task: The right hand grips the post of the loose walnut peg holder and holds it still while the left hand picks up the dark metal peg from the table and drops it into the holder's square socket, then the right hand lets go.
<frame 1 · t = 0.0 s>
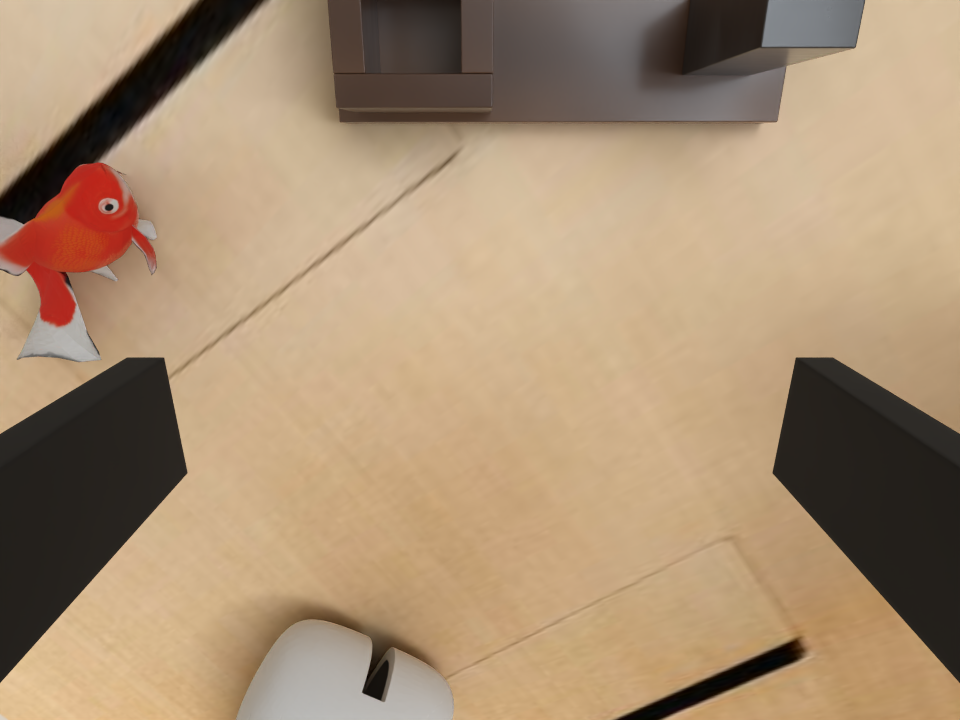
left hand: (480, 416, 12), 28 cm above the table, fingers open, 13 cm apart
fish: (106, 259, 39), on the table
projector: (336, 701, 53), on the table
holder: (557, 42, 35), on the table
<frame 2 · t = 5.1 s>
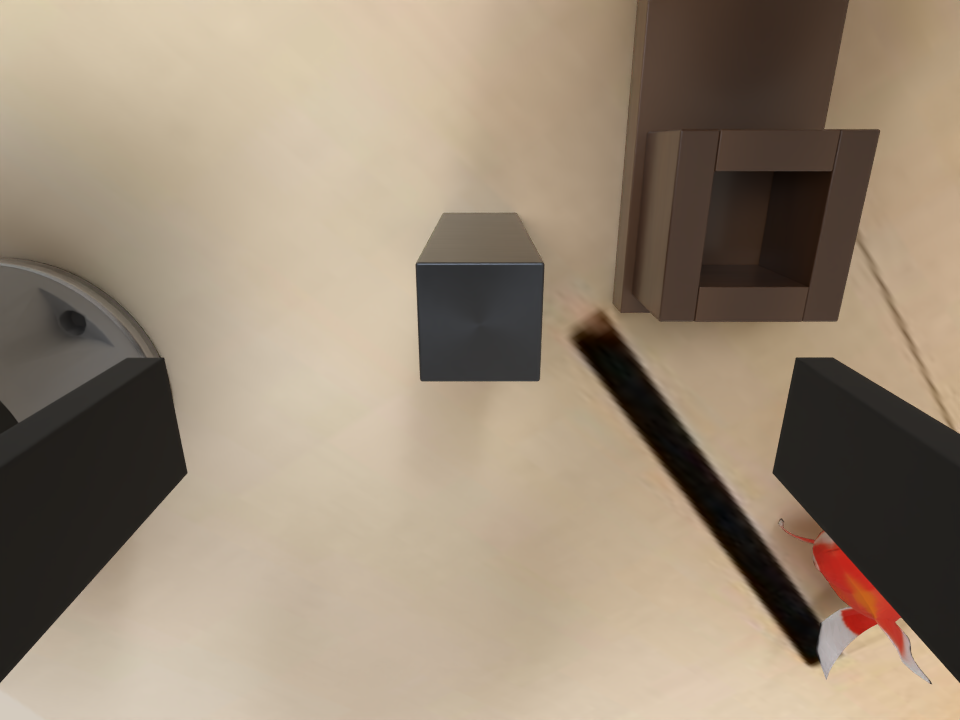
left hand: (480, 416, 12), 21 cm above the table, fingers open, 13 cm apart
peg: (479, 250, 32), on the table
fish: (853, 550, 39), on the table
holder: (725, 44, 28), on the table, touching right hand
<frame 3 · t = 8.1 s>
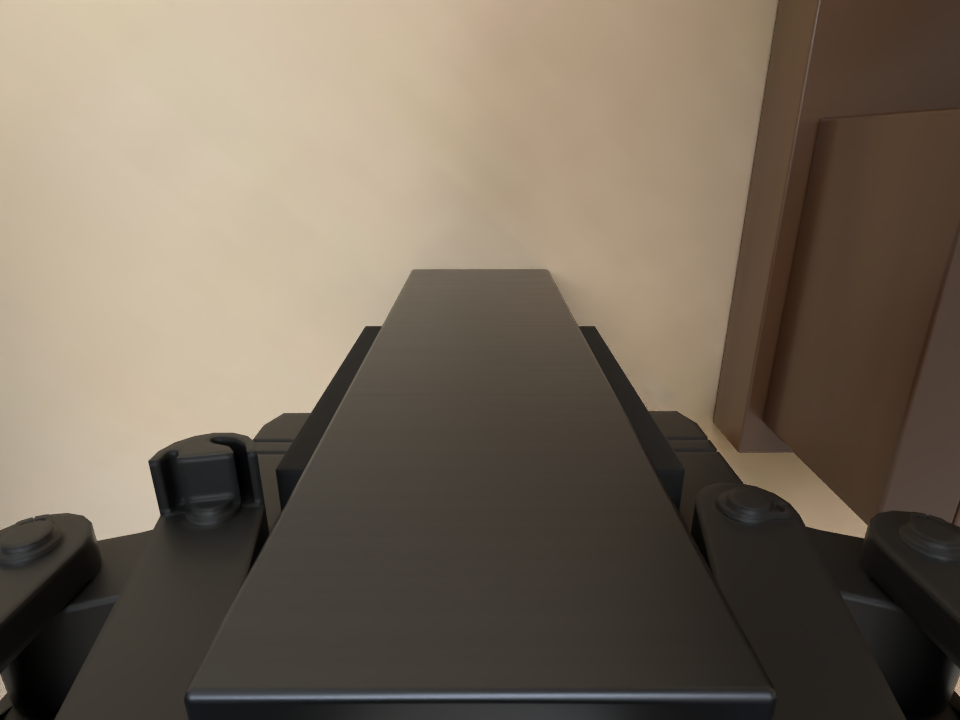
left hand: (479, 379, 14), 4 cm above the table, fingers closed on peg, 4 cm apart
peg: (480, 334, 18), on the table, touching left hand
when the left hand's fingers open (9 cm above the table, at t = 12.5 s): peg drops 3 cm, resting on holder.
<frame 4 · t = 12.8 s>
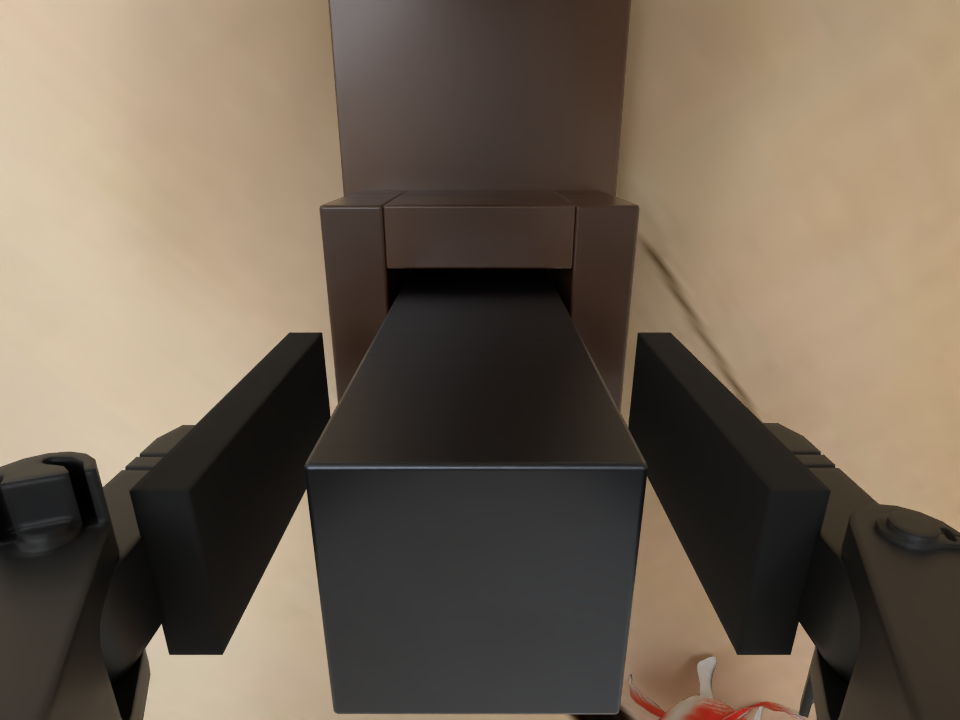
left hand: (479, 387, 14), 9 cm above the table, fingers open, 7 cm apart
peg: (479, 308, 20), point 2 cm above the table, touching holder
fish: (730, 708, 30), on the table
holder: (479, 62, 20), on the table, touching right hand, peg
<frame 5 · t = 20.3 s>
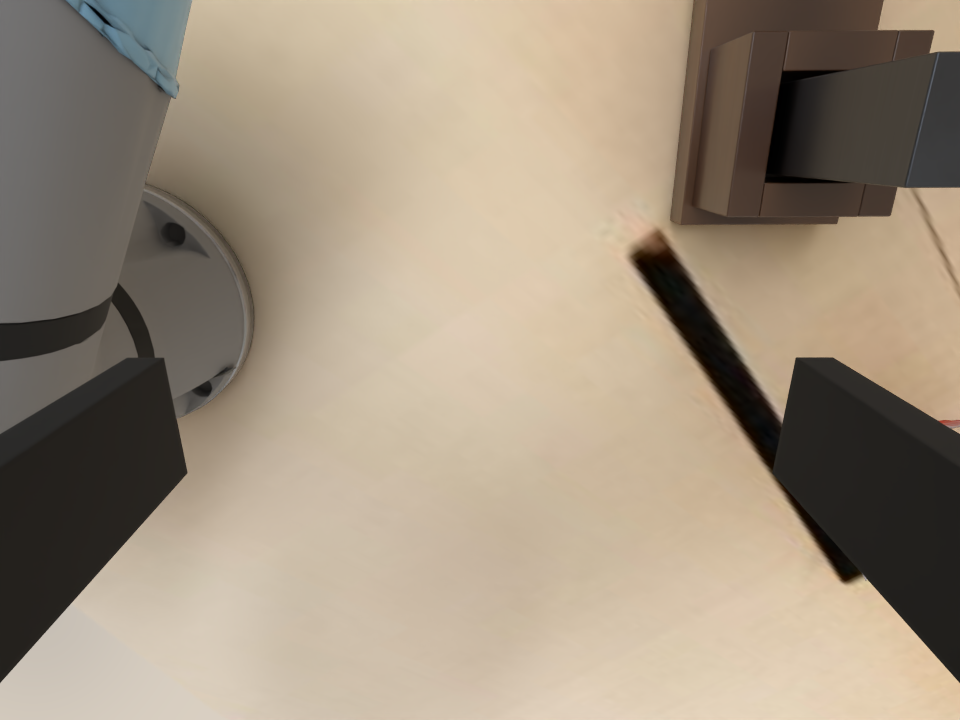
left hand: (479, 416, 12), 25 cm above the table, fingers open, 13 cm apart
peg: (773, 131, 31), point 2 cm above the table, touching holder
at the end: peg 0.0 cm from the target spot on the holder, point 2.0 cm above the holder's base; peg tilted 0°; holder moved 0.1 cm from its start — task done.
